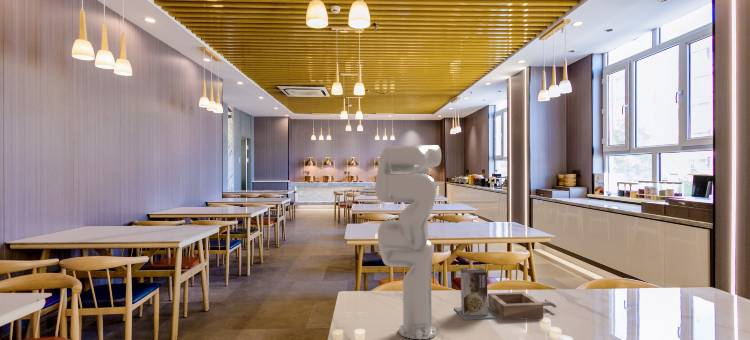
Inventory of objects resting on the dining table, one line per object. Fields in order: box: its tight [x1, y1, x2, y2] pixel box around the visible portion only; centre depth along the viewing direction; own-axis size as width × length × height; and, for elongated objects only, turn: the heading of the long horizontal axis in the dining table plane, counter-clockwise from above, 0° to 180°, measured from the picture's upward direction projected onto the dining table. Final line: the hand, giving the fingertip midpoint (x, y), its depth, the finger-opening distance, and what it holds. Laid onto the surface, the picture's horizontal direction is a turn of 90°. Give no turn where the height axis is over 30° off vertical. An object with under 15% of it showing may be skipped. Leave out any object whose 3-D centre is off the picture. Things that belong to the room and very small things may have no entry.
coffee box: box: [460, 267, 489, 315], centre depth 150 cm, size 9×6×16 cm
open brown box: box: [487, 291, 557, 320], centre depth 153 cm, size 15×23×5 cm, turn 96°
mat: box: [453, 306, 497, 321], centre depth 151 cm, size 12×12×1 cm
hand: (419, 222), depth 156 cm, fingers open, 9 cm apart
